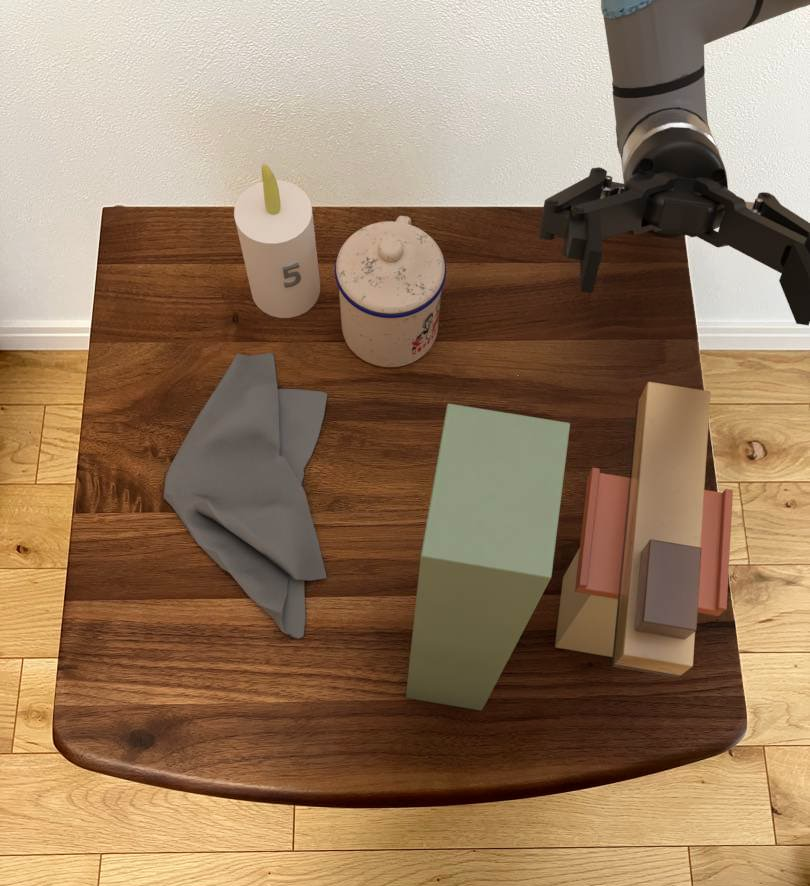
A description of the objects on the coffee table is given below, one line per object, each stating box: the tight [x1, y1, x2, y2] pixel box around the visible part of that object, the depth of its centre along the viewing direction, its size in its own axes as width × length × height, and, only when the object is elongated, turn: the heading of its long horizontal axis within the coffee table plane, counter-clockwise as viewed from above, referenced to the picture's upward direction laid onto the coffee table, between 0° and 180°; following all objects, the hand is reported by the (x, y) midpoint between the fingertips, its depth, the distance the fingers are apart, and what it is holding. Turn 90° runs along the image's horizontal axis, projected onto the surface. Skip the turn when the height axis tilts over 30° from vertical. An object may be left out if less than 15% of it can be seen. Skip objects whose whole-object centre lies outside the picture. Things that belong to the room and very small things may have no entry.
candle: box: [233, 163, 321, 319], centre depth 80 cm, size 6×6×15 cm
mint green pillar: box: [405, 403, 571, 712], centre depth 60 cm, size 6×8×33 cm
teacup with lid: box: [334, 215, 447, 368], centre depth 81 cm, size 12×9×12 cm
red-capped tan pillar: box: [554, 467, 734, 658], centre depth 68 cm, size 9×8×19 cm
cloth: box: [163, 352, 328, 640], centre depth 79 cm, size 26×14×2 cm, turn 0°
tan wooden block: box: [611, 381, 712, 679], centre depth 58 cm, size 4×18×5 cm, turn 170°
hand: (700, 288), depth 59 cm, fingers open, 13 cm apart
